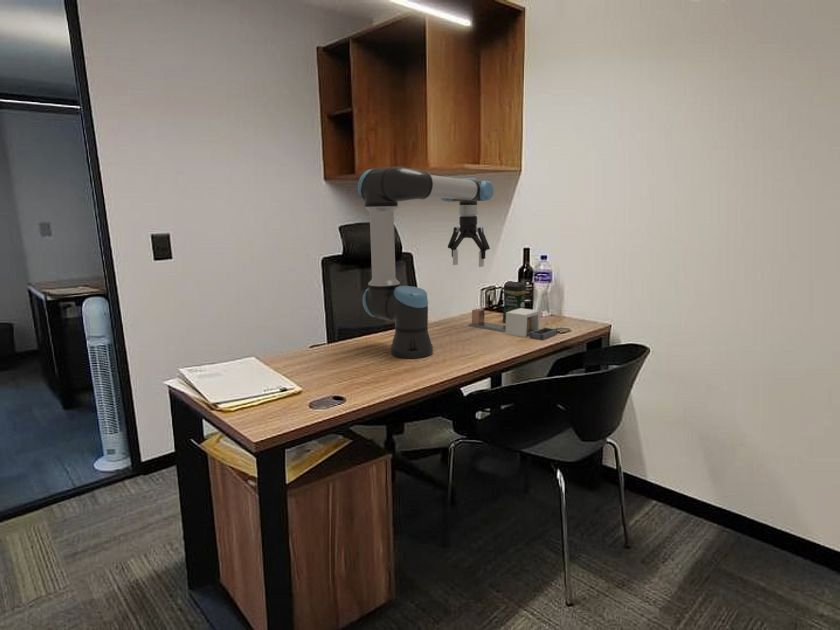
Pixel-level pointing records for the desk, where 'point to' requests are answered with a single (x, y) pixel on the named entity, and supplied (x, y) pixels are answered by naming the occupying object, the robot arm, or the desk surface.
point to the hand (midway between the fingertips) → (468, 265)
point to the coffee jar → (513, 297)
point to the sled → (479, 323)
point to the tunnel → (521, 321)
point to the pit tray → (543, 333)
